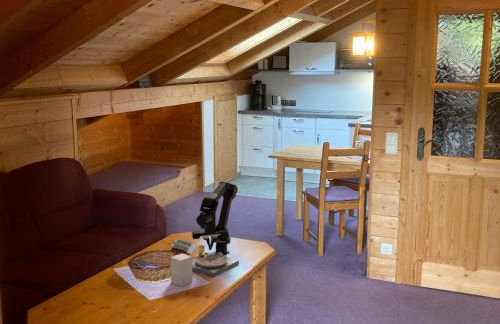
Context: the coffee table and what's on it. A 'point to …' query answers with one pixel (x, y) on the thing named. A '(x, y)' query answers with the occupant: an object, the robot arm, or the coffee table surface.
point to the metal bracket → (184, 245)
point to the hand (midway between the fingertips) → (210, 250)
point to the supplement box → (181, 269)
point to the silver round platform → (210, 258)
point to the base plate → (216, 270)
